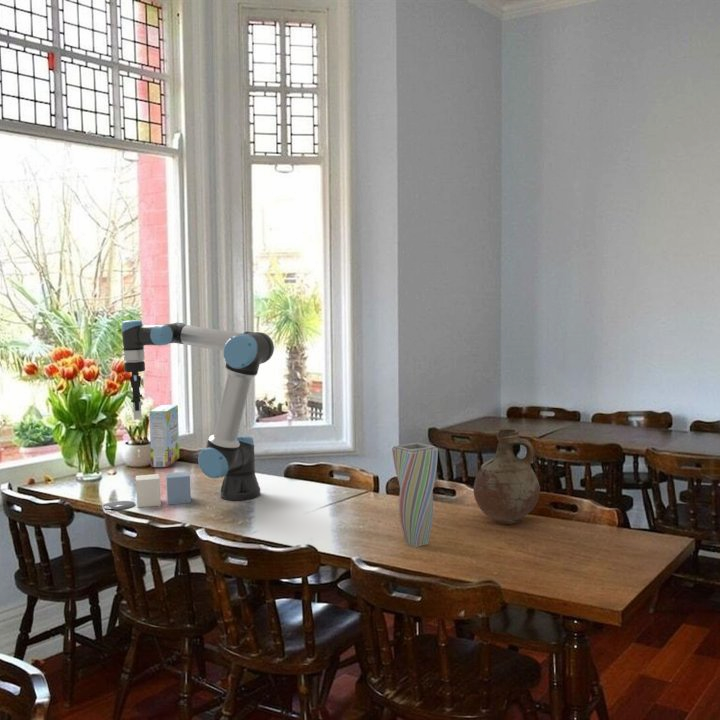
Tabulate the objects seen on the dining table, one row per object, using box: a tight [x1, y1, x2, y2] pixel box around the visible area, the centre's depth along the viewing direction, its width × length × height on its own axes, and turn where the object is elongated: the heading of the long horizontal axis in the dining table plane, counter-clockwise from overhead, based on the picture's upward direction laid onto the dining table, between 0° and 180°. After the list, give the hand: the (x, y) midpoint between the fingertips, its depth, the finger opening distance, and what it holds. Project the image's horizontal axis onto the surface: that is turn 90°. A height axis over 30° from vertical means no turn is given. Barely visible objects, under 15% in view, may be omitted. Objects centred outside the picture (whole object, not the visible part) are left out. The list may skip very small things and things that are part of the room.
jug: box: [473, 428, 541, 525], centre depth 282 cm, size 22×22×30 cm
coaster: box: [103, 500, 136, 511], centre depth 317 cm, size 11×11×1 cm
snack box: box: [149, 404, 180, 468], centre depth 393 cm, size 22×9×26 cm, turn 179°
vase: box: [391, 442, 439, 548], centre depth 260 cm, size 14×14×30 cm
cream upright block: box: [135, 473, 162, 508], centre depth 320 cm, size 8×8×10 cm
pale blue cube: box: [165, 471, 192, 505], centre depth 322 cm, size 8×8×10 cm
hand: (137, 417), depth 326 cm, fingers open, 13 cm apart
